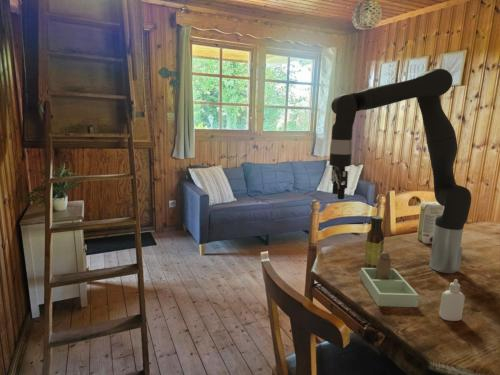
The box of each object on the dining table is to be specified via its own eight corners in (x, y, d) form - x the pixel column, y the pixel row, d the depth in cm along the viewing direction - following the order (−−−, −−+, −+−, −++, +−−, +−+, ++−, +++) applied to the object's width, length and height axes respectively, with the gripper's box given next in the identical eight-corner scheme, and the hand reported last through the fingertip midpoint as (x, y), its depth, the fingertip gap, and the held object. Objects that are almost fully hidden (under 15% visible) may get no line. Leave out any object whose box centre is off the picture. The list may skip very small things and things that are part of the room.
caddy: (393, 278, 117) (397, 247, 114) (417, 307, 99) (422, 270, 96) (359, 278, 117) (362, 246, 114) (377, 305, 99) (381, 269, 97)
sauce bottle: (382, 271, 123) (388, 220, 119) (365, 269, 124) (370, 219, 120) (379, 263, 129) (384, 215, 125) (363, 262, 130) (367, 214, 126)
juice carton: (441, 244, 151) (446, 205, 147) (422, 244, 151) (427, 204, 147) (432, 238, 158) (437, 201, 154) (414, 238, 158) (419, 200, 154)
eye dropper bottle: (438, 311, 97) (444, 274, 95) (460, 316, 94) (467, 279, 92) (438, 318, 93) (444, 280, 91) (461, 324, 91) (468, 285, 88)
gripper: (357, 154, 109) (353, 201, 112) (346, 150, 123) (343, 192, 126) (334, 154, 109) (331, 200, 112) (326, 150, 123) (324, 192, 126)
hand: (337, 196), depth 119 cm, fingers open, 8 cm apart
